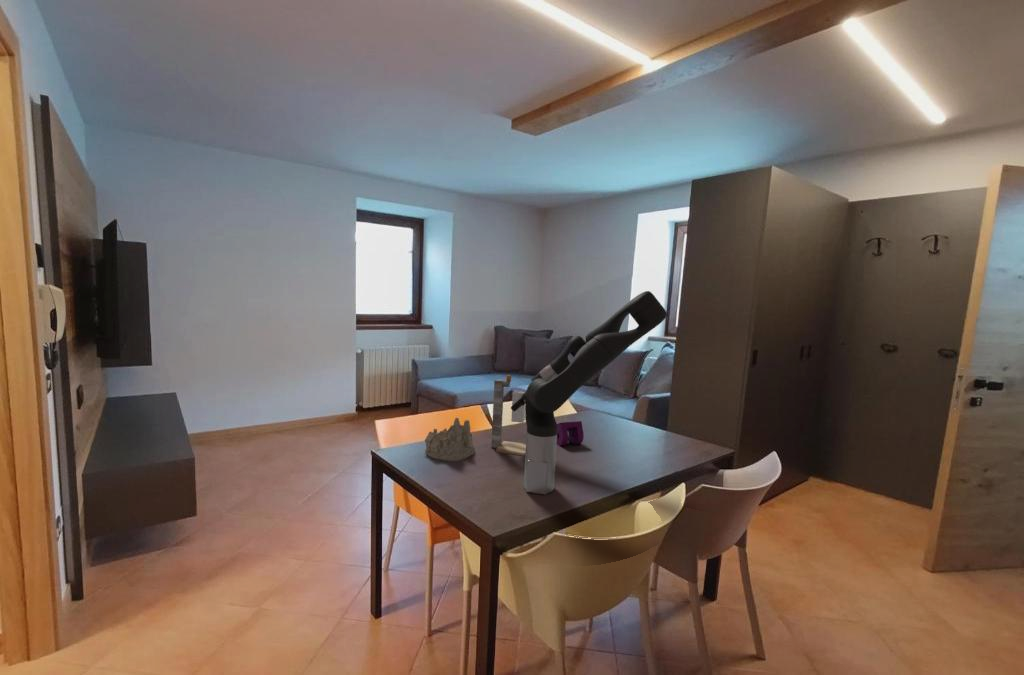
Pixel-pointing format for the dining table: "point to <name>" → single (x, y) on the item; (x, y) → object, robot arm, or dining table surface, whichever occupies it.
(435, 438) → the gray sandcastle
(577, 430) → the mounting bracket
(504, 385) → the keeper
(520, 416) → the gray rectangular block
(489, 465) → the dining table surface
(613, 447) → the dining table surface
